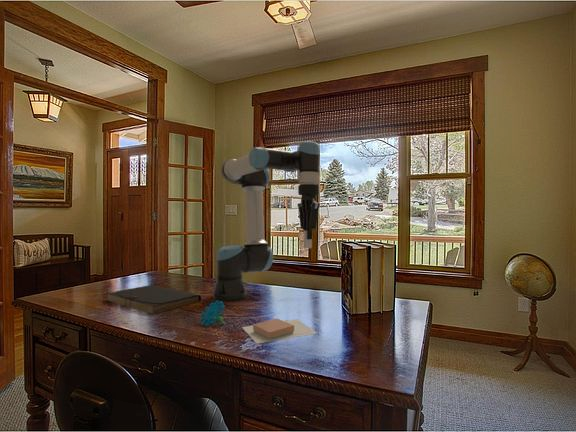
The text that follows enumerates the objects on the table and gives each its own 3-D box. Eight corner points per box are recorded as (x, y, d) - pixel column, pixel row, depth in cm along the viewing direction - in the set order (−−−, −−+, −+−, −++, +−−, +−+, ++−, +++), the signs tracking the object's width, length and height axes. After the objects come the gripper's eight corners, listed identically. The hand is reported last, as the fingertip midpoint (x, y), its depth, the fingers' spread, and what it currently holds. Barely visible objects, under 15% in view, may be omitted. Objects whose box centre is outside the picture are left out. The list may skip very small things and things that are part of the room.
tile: (277, 318, 113) (253, 324, 107) (294, 325, 106) (269, 332, 100) (277, 325, 113) (252, 331, 107) (294, 332, 106) (269, 340, 100)
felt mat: (241, 328, 111) (241, 327, 111) (297, 320, 120) (297, 319, 120) (256, 344, 97) (256, 343, 97) (317, 334, 106) (317, 333, 106)
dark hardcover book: (106, 292, 142) (155, 283, 162) (105, 302, 142) (155, 291, 163) (152, 305, 124) (201, 293, 144) (152, 316, 124) (201, 302, 144)
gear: (194, 317, 117) (214, 295, 120) (204, 326, 120) (223, 304, 123) (207, 330, 108) (228, 306, 112) (218, 339, 111) (238, 315, 115)
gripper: (326, 183, 117) (325, 249, 117) (308, 186, 128) (308, 246, 129) (308, 182, 113) (307, 250, 114) (291, 185, 125) (290, 246, 126)
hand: (307, 248), depth 121 cm, fingers closed
